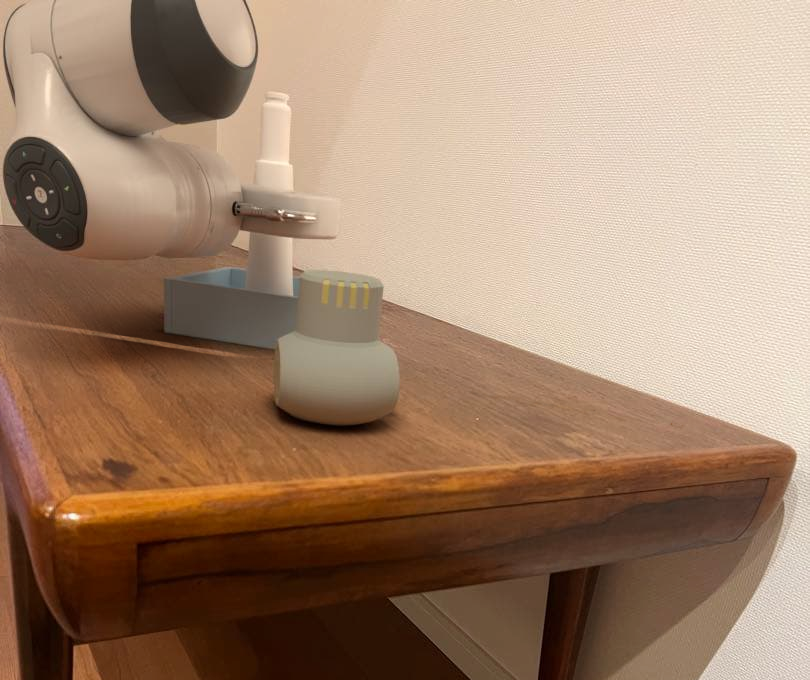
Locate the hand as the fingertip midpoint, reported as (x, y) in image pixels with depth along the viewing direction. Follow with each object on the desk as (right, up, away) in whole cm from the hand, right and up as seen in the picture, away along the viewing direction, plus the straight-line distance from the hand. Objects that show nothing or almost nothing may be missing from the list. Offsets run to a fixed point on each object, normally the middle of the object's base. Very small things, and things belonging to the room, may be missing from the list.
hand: (277, 206), depth 78 cm
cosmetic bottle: (-2, -12, +4) cm, 12 cm away
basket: (-2, -12, +4) cm, 13 cm away
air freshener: (+7, -24, -20) cm, 32 cm away
